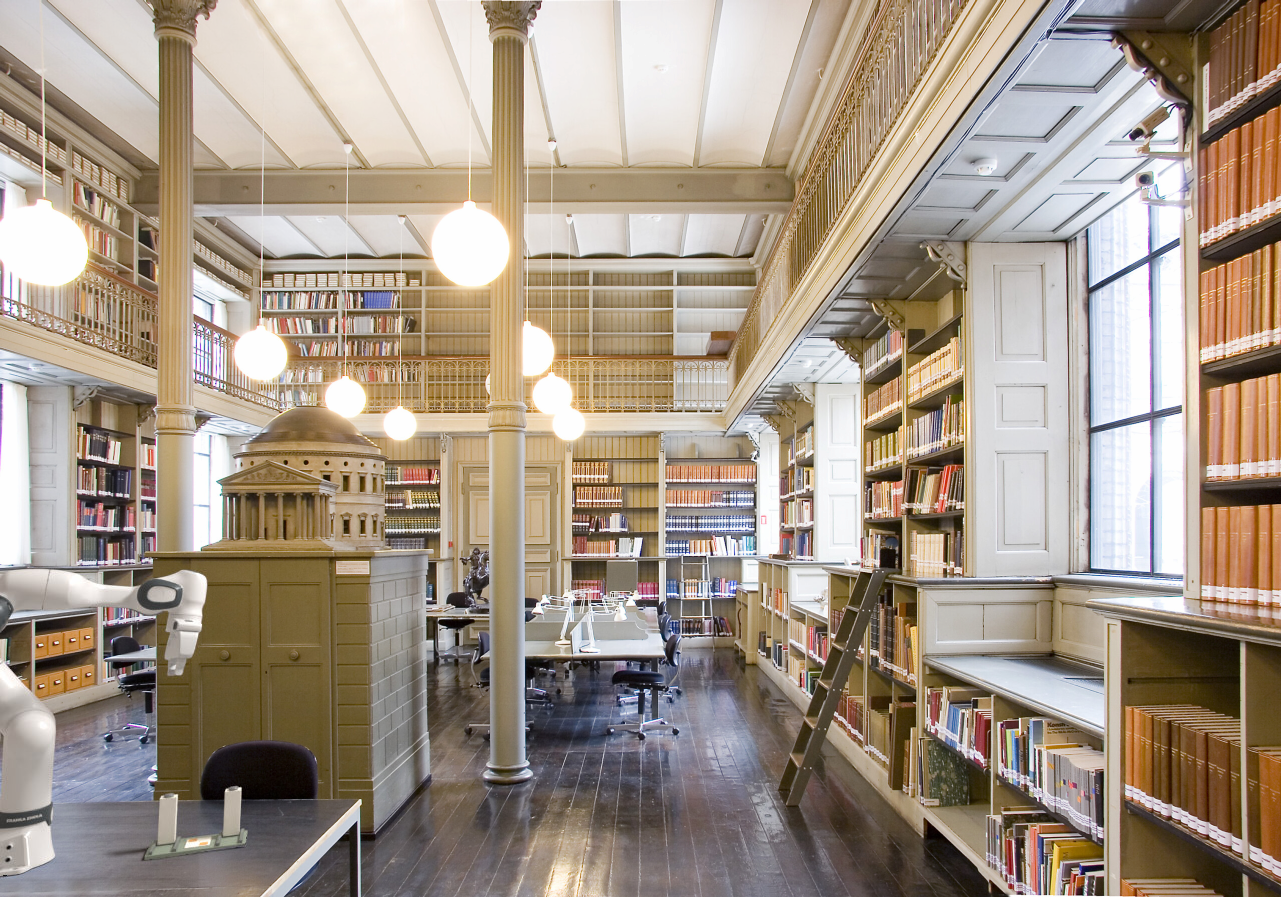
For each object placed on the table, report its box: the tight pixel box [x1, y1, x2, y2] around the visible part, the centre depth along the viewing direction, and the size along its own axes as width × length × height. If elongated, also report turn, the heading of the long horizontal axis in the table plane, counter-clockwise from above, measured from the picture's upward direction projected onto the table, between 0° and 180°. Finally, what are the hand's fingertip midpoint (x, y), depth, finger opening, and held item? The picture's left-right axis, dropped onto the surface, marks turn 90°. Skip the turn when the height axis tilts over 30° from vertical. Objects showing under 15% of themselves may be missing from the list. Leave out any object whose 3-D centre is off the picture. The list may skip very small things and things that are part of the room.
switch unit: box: [144, 827, 249, 861], centre depth 229 cm, size 11×24×2 cm, turn 112°
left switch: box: [157, 792, 179, 845], centre depth 230 cm, size 3×4×13 cm
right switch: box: [222, 785, 242, 837], centre depth 236 cm, size 3×4×13 cm
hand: (174, 675), depth 240 cm, fingers open, 8 cm apart
